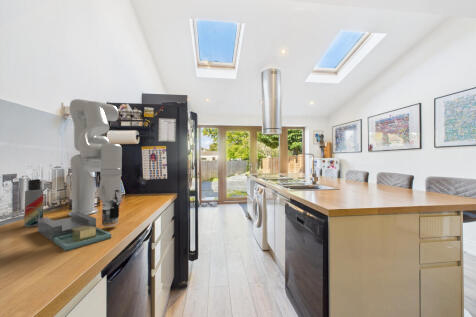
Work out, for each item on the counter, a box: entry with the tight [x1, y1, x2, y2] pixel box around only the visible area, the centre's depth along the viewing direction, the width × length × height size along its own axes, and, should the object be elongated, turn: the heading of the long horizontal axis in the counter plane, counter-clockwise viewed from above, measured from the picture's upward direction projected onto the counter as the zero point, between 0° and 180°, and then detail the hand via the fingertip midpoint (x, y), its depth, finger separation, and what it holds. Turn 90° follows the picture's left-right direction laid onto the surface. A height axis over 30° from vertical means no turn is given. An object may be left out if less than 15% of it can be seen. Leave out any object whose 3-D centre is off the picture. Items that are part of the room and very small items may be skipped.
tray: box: [53, 227, 112, 252], centre depth 70 cm, size 12×13×2 cm
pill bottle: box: [101, 199, 119, 227], centre depth 83 cm, size 6×6×10 cm
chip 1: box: [72, 226, 89, 241], centre depth 71 cm, size 4×4×4 cm
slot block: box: [37, 212, 97, 243], centre depth 79 cm, size 19×13×5 cm
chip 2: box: [76, 226, 97, 242], centre depth 69 cm, size 4×4×4 cm
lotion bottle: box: [23, 178, 44, 228], centre depth 87 cm, size 6×6×20 cm
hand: (110, 216), depth 83 cm, fingers closed on pill bottle, 5 cm apart
